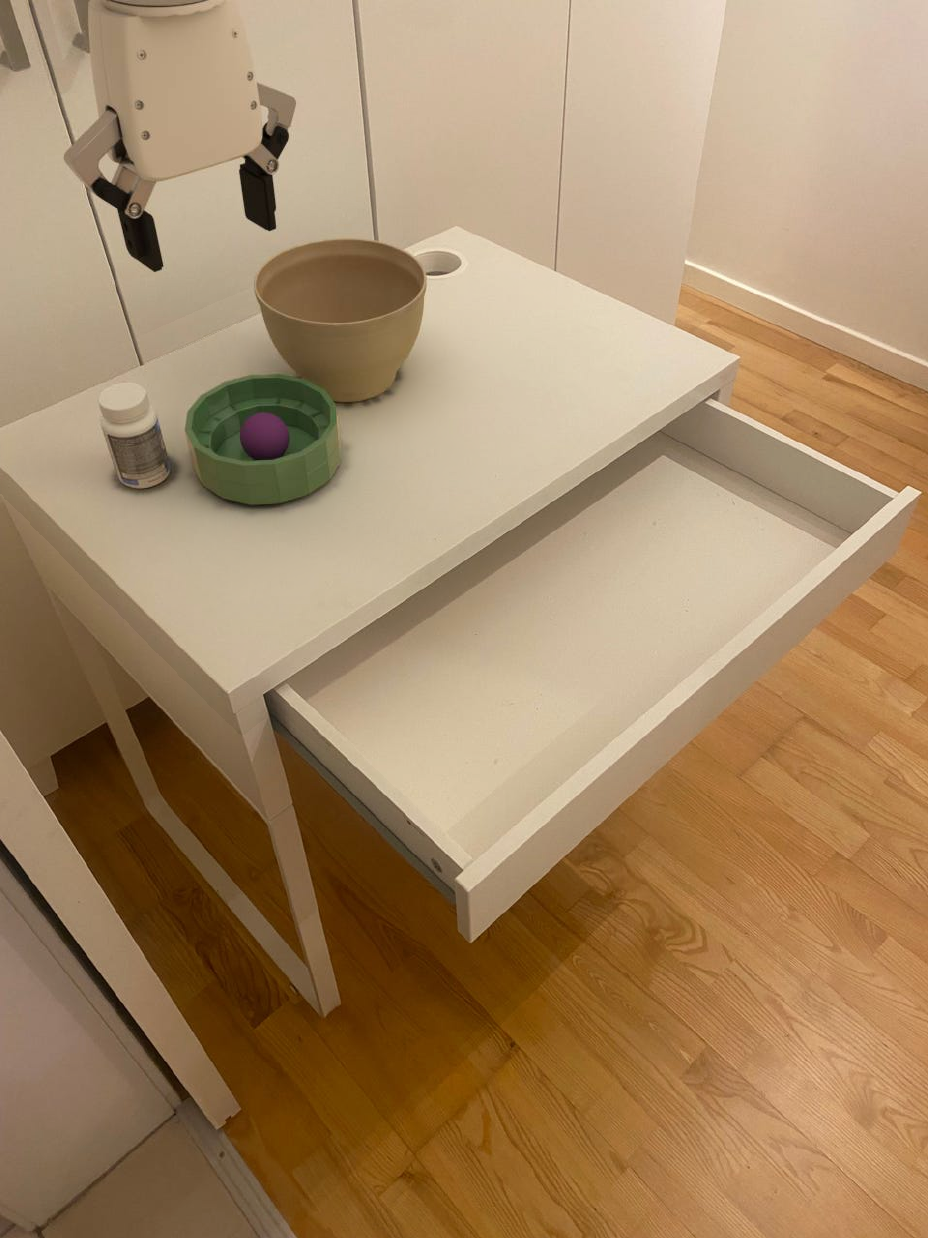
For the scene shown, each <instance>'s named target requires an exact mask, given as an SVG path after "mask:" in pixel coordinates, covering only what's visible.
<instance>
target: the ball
mask: <svg viewBox="0 0 928 1238" xmlns="http://www.w3.org/2000/svg"><path fill="white" fill-rule="evenodd" d="M289 440H290V436H289V431H288V428H287V426H286V424H285V423H284V422H283V421H282V420H281V419H280V418H279V417H278V416H276V415H274V414H271V413H266V412H262V413H257V414H254V415H252V416H250V417H249V418H248V419H247V420H246V421H245V422H244V424H243V425H242V428H241V431H240V442H241V445H242V447H243V449H244V451H245V452H246V453H247V454H248V455H249V456H250V457H251V458H253V459H255V460H257V461H258V460H274V459H277V458H280V457H281V456H282V455H283V454H284V453H285V452H286V450H287V448H288V445H289Z"/></svg>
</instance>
